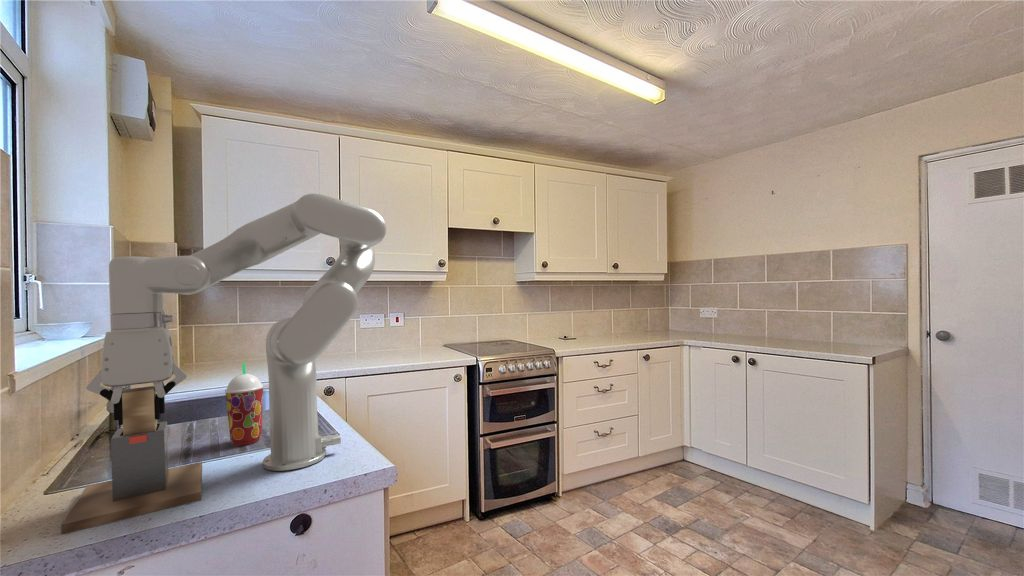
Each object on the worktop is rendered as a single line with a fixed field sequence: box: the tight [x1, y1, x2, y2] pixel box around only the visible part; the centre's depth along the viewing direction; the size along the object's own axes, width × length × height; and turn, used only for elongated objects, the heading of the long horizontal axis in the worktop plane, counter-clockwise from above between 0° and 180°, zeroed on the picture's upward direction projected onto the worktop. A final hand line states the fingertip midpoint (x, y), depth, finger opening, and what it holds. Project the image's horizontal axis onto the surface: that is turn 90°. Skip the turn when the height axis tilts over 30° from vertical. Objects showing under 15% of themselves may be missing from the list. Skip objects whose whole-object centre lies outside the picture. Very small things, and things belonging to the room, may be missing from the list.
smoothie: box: [224, 362, 264, 447], centre depth 111 cm, size 8×8×20 cm
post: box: [122, 385, 158, 435], centre depth 82 cm, size 5×5×18 cm
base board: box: [60, 461, 203, 535], centre depth 82 cm, size 18×18×2 cm
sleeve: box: [110, 420, 169, 502], centre depth 82 cm, size 7×8×11 cm
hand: (140, 419), depth 82 cm, fingers closed on post, 4 cm apart
